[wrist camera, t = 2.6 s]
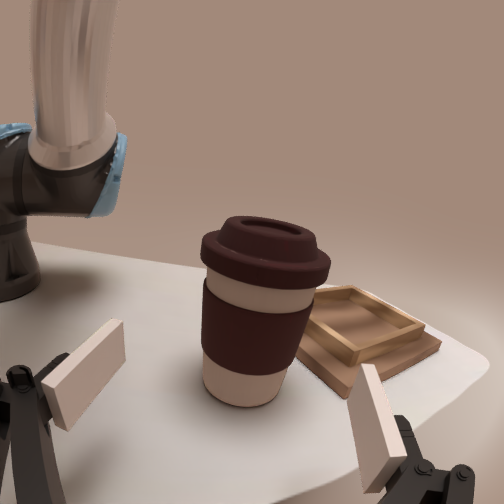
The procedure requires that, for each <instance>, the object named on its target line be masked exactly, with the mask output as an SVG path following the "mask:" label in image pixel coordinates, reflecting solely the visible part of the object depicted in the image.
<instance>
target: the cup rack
mask: <svg viewBox="0 0 504 504" xmlns="http://www.w3.org/2000/svg"><path fill="white" fill-rule="evenodd" d="M313 298H314V304H313V308H312V311H311V314H310V317H309V319H308V322H307V325H306V328H305V331H304V333H303V336H302V339H301V342H300V344H299V347H298V350H297V352H296V355H295V356H296V357H297V358H298V359H299V360H300V361H301V362H302V363H303V364H305V365H306V366H307V367H308V368H309V369H310V370H311V371H312V372H313V373H315V374H316V375H317V376H318V377H319V378H320V379H321V380H322V381H324V382H325V383H326V384H327V385H328V386H329V387H330V388H331V389H333V390H334V391H335V392H336V393H337V394H338V395H339V396H341V397H342V398H343V399H345V398H348V397H349V394H350V392H351V389H352V387H353V384H354V382H355V379H356V376H357V374H358V371H359V368H360V365H361V363H362V364H374V365H375V368H376V370H377V373H378V376H379V378H380V381H381V382H382V381H384V380H386V379H388V378H390V377H392V376H394V375H396V374H398V373H399V372H401V371H403V370H405V369H407V368H409V367H411V366H412V365H414V364H416V363H418V362H419V361H421V360H423V359H425V358H426V357H428V356H430V355H432V354H433V353H435V352H437V351H438V350H439V348H440V345H441V343H442V341H441V340H439V339H437V338H435V337H434V336H432V335H430V334H428V333H426V332H425V331H424V328H425V324H423V323H421V322H419V321H418V320H416V319H414V318H412V317H410V316H408V315H407V314H405V313H403V312H401V311H399V310H397V309H396V308H394V307H392V306H390V305H388V304H386V303H384V302H383V301H381V300H379V299H377V298H375V297H373V296H371V295H370V294H368V293H366V292H364V291H362V290H360V289H358V288H356V287H354V286H353V285H348V286H340V287H332V288H323V289H316V290H315V293H314V296H313Z"/></svg>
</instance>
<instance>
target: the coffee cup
mask: <svg viewBox="0 0 504 504" xmlns="http://www.w3.org/2000/svg"><path fill="white" fill-rule="evenodd" d="M200 255H201V260H202V261H203V263H204V264H205V265H206V266H207V277H206V278H205V280H204V284H203V301H202V329H201V344H202V348H203V381H204V384H205V386H206V388H207V389H208V390H209V392H210V393H211V394H212V395H214V396H215V397H216V398H218V399H220V400H221V401H223V402H226V403H228V404H231V405H235V406H243V407H252V406H258V405H262V404H265V403H267V402H269V401H270V400H272V399H273V398H274V397H275V396H276V395H277V393H278V392H279V390H280V387H281V384H282V382H283V379H284V377H285V374H286V372H287V369H288V366H290V364H291V363H292V362H293V360H294V358H295V355H296V352H297V350H298V347H299V344H300V342H301V339H302V336H303V333H304V331H305V328H306V325H307V322H308V319H309V317H310V314H311V311H312V308H313V304H314V298H313V296H314V293H315V290H316V287H318V286H320V285H322V284H323V283H324V282H325V281H326V280H327V277H328V273H329V269H330V265H331V260H330V258H329V256H328V255H327V254H326V253H324V252H323V251H321V250H320V249H318V248H317V243H316V237H315V235H314V234H313V233H312V232H311V231H309V230H307V229H305V228H303V227H300V226H297V225H294V224H291V223H287V222H283V221H279V220H274V219H268V218H262V217H252V216H234V217H230V218H228V219H227V220H226V221H225V223H224V225H223V227H222V228H221V230H217V231H213V232H209V233H207V234H206V235H204V237H203V239H202V245H201V253H200Z"/></svg>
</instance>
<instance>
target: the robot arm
mask: <svg viewBox="0 0 504 504" xmlns="http://www.w3.org/2000/svg"><path fill="white" fill-rule="evenodd" d="M119 1H120V0H31V2H30V29H29V33H30V34H29V40H30V43H29V47H30V70H31V84H32V96H33V104H34V113H35V121H36V125H35V126H34V128H33V129H32V127H31V125H30V124H26V123H12V124H2V125H0V301H5V300H10V299H13V298H16V297H19V296H22V295H24V294H26V293H28V292H29V291H31V290H32V289H34V288H35V287H36V286H37V285H38V283H39V281H40V272H39V264H38V261H37V258H36V256H35V253H34V250H33V247H32V245H31V242H30V239H29V236H28V233H27V219H26V218H27V216H33V215H34V216H65V217H66V216H67V217H85V218H90V217H103V216H108V215H109V214H111V213H112V212H113V210H114V208H115V205H116V201H117V197H118V192H119V187H120V178H121V175H122V170H123V165H124V159H125V154H126V147H127V137H126V136H125V135H124V134H120V133H117V132H116V123H115V121H114V119H113V118H112V117H111V116H110V115H109V114H108V113H107V112H106V97H107V84H108V74H109V64H110V56H111V48H112V41H113V34H114V28H115V22H116V17H117V12H118V6H119ZM125 361H126V359H125V347H124V331H123V321H121V320H117V319H113V318H111V319H110V320H109V321H107V322H106V323H105V324H104V325H103V326H102V327H101V328H99V329H98V330H97V331H96V332H95V333H94V334H93V335H92V336H90V337H89V338H88V339H87V340H86V341H85V342H84V343H83V344H81V345H80V346H79V347H78V348H77V349H76V350H75V351H74V352H73V353H71V354H68V353H63V354H61V355H59V356H57V357H56V358H55V359H53V360H52V361H51V362H50V363H49V364H48V365H47V367H44V368H43V369H42V370H41V371H40V372H39V373H38V374H37V375H35V376H34V377H33V376H32V372H31V369H30V368H29V367H27V366H24V365H16V366H13V367H11V368H10V369H9V370H8V371H7V373H6V376H7V379H8V382H9V383H5V382H1V379H0V493H1V486H2V480H3V474H4V469H5V464H6V459H7V454H8V449H9V445H10V441H11V456H12V468H13V478H14V486H15V493H16V499H17V504H66V501H65V497H64V494H63V490H62V486H61V482H60V478H59V473H58V469H57V464H56V459H55V454H54V449H53V443H52V437H51V430H50V425H49V422H48V421H49V420H50V419H51V418H53V420H54V423H55V425H56V426H58V427H60V428H61V429H63V430H65V431H67V432H68V431H69V430H70V429H71V427H72V426H73V425H74V424H75V422H76V421H77V420H78V419H79V417H80V416H81V415H82V414H83V412H84V411H85V410H86V409H87V407H88V406H89V405H90V404H91V402H92V401H93V400H94V399H95V397H96V396H97V395H98V394H99V393H100V391H101V390H102V389H103V388H104V386H105V385H106V384H107V383H108V382H109V380H110V379H111V378H112V377H113V375H114V374H115V373H116V372H117V371H118V369H119V368H120V367H121V366H122V365H123V363H124V362H125ZM347 406H348V410H349V415H350V420H351V425H352V431H353V436H354V441H355V446H356V452H357V457H358V463H359V469H360V475H361V481H362V487H363V493H364V494H365V493H380V491H381V490H382V489H383V488H384V487H386V491H387V493H386V494H385V495H384V496H383V498H382V499H381V500H380V501H379V502H378V504H473V498H474V486H475V474H474V472H473V470H472V469H471V468H470V467H468V466H466V465H462V464H459V465H456V466H455V467H454V468H452V470H451V471H445V470H438V469H435V467H434V465H433V464H432V463H431V462H429V461H428V460H426V459H423V457H422V454H421V452H420V449H419V446H418V444H417V441H416V438H415V437H414V433H413V431H412V428H411V426H410V423H409V421H408V420H407V419H406V418H405V417H404V416H403V415H393V413H392V410H391V407H390V405H389V402H388V399H387V396H386V394H385V391H384V389H383V386H382V383H381V381H380V378H379V376H378V373H377V370H376V368H375V365H374V364H362V363H361V365H360V368H359V371H358V374H357V376H356V379H355V382H354V384H353V387H352V389H351V392H350V394H349V397H348V399H347Z"/></svg>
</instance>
